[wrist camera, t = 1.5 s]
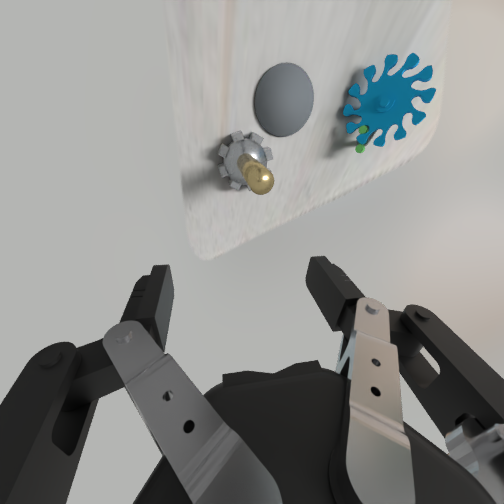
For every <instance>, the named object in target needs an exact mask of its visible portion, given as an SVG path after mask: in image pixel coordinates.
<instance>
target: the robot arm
mask: <svg viewBox="0 0 504 504" xmlns="http://www.w3.org/2000/svg"><path fill="white" fill-rule="evenodd" d="M306 285H307V288H308V289H309V291H310V293H311V295H312V296H313V298H314V300H315V301H316V303H317V305H318V307H319V308H320V310H321V312H322V314H323V315H324V317H325V319H326V320H327V322H328V324H329V326H330V327H331V329H332V331H342V332H343V336H342V339H341V344H340V350H339V355H338V361H337V366H336V370H335V372H334V371H332V370H329V369H325V368H321V366H320V364H319V362H318V360H315V361H309V362H302V363H296V364H294V365H292V366H289V367H287V368H285V369H283V370H281V371H278V372H276V373H273V374H272V373H263V372H254V371H242V372H236V373H228V374H223V382H222V383H220V384H218V385H216V386H214V387H213V388H211V389H210V390H209V391H208V392H206V393H205V394H204V395H202V393H201V392H200V391H199V390H198V389H197V387H196V386H195V385H194V384H193V382H192V381H191V380H190V379H189V377H188V376H187V375H186V374H185V372H184V371H183V370H182V369H181V367H180V366H179V365H178V364H177V362H176V361H175V360H174V359H173V357H172V356H171V355H170V354H168V353H167V354H164V353H163V352H164V351H165V345H166V339H167V334H168V328H169V322H170V316H171V310H172V305H173V299H174V287H173V281H172V276H171V270H170V266H169V265H154V266H153V268H152V271H151V274H150V275H146V276H142V277H141V278H140V279H139V280H138V281H137V282H136V284H135V286H134V289H133V292H132V294H131V296H130V298H129V301H128V303H127V306H126V308H125V310H124V313H123V316H122V318H121V320H120V323H119V324H116V325H115V326H113V327H112V328H111V329H109V330H108V332H107V333H106V334H105V336H104V338H102V339H100V340H98V341H95V342H92V343H89V344H87V345H84V346H81V347H78V348H76V347H75V345H74V344H73V343H70V342H59V343H55V344H52V345H50V346H48V347H46V348H44V349H42V350H41V351H39V352H38V353H37V354H35V355H34V356H33V357H32V358H31V359H30V360H29V362H28V363H27V364H26V366H25V367H24V369H23V370H22V372H21V374H20V375H19V377H18V378H17V380H16V382H15V383H14V385H13V386H12V388H11V389H10V391H9V392H8V394H7V395H6V397H5V398H4V400H3V402H2V403H1V405H0V504H66V502H67V498H68V495H69V492H70V489H71V486H72V482H73V479H74V476H75V473H76V470H77V467H78V463H79V460H80V457H81V454H82V451H83V448H84V444H85V441H86V438H87V435H88V431H89V428H90V425H91V422H92V419H93V416H94V412H95V409H96V406H97V403H98V400H99V398H101V397H103V396H105V395H108V394H110V393H112V392H114V391H116V390H119V389H121V388H123V387H125V389H126V391H127V392H128V394H129V396H130V398H131V400H132V401H133V403H134V405H135V407H136V409H137V410H138V412H139V414H140V416H141V418H142V419H143V421H144V423H145V425H146V427H147V429H148V431H149V432H150V434H151V436H152V438H153V440H154V441H155V443H156V445H157V447H158V449H159V451H160V452H161V454H162V458H161V460H160V461H159V463H158V464H157V466H156V468H155V469H154V471H153V472H152V474H151V475H150V477H149V479H148V480H147V482H146V483H145V485H144V487H143V488H142V490H141V491H140V493H139V494H138V496H137V497H136V499H135V501H134V502H133V504H504V379H503V378H501V376H500V375H499V374H497V373H496V372H495V371H494V370H493V369H492V368H491V367H490V366H489V365H488V364H487V363H486V362H485V361H484V360H483V359H482V358H481V357H479V356H478V355H477V354H476V353H475V352H474V351H473V350H472V349H471V348H470V347H469V346H468V345H467V344H466V343H465V342H464V341H463V340H461V339H460V338H459V337H458V336H457V335H456V334H455V333H454V332H453V331H452V330H451V329H450V328H449V327H448V326H447V325H445V324H444V323H443V322H442V321H441V320H440V319H439V318H438V317H437V316H436V315H435V314H434V313H433V312H431V311H430V310H428V309H426V308H424V307H421V306H418V305H408V306H406V308H405V309H404V311H403V312H400V311H394V310H388V309H387V308H386V307H385V306H384V305H383V304H382V303H381V302H379V301H377V300H375V299H372V298H367V297H365V296H364V295H363V294H362V293H361V291H360V290H359V289H358V288H357V286H355V284H354V283H353V282H352V281H351V280H350V279H349V277H348V276H346V274H345V273H344V272H343V270H342V269H341V268H339V267H338V266H336V265H335V264H331V263H330V261H329V260H328V259H327V258H326V257H325V256H317V257H311V258H310V262H309V266H308V270H307V274H306ZM423 346H424V347H425V349H426V350H427V351H428V352H429V353H430V355H431V356H432V357H433V358H434V359H435V360H436V361H437V363H438V365H439V367H440V374H438V373H437V372H436V371H435V370H434V368H433V367H432V366H431V365H430V364H429V363H428V361H427V360H426V359H425V357H423V355H422V354H421V353H420V350H421V349H422V347H423ZM399 372H400V374H401V375H402V377H403V378H404V380H405V381H406V382H407V384H408V385H409V387H410V388H411V390H412V391H413V393H414V394H415V395H416V397H417V398H418V400H419V402H420V403H421V404H422V406H423V407H424V409H425V410H426V412H427V413H428V415H429V416H430V418H431V419H432V420H433V422H434V423H435V425H436V426H437V428H438V429H439V431H440V432H441V434H442V435H443V436H444V438H445V443H446V447H447V449H448V451H449V453H448V454H446V453H445V452H443V451H442V450H441V449H439V448H438V447H437V446H436V445H434V444H433V443H432V442H430V441H429V440H428V439H426V438H425V437H424V436H422V435H421V434H420V433H418V432H417V431H416V430H414V429H413V428H412V427H411V426H409V425H408V424H407V423H405V422H404V421H403V415H402V402H401V389H400V378H399V377H400V376H399Z"/></svg>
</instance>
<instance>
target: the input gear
mask: <svg viewBox="0 0 504 504" xmlns="http://www.w3.org/2000/svg"><path fill="white" fill-rule="evenodd" d="M231 137H232V140H233V142H232V143H230V144H229V146H226V145H225V144H223V143H222V144H221V146H220V149H219V151H218V155H220V156H221V157H223V158H224V163H222V164H219V165H218V168H219V171H220V174H221V176H222V178H223V177H226V176H229V177H230V178H231V179H230V181H229V185H230V187H232V188H234V189H237V190H239V189H240V186H241V185H247V187H248V189H249V191H251V190H252V191H253V192H254V193H256V194H259V195H263V194H266V193H268V192H269V191H270V190H271V189H272V187H273V185H274V177H273V174H272V173H271V170H270V169H268V168H267V161H269V160H272V159H273V156H272V152H271V148H269V147H266V148H262V147H261V143H262V141H263V139H264V138H262V137H261V136H259V135H257V134H256V133H254V132H252V133H251V135H250V137H249V139H248V138H244V136H243V133H242V131H238V132H235V133H233V134H231Z"/></svg>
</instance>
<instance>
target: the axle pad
mask: <svg viewBox="0 0 504 504" xmlns="http://www.w3.org/2000/svg"><path fill="white" fill-rule="evenodd" d="M313 101H314V93H313V87H312V83H311V81H310V78H309V77H308V75H307V73H306V72H305V71H304V70H303V69H302V68H301V67H299V66H298V65H295V64H292V63H281V64H278V65H276V66H274V67H272V68H271V69H269V70H268V71H267V72H266V73H265V75H264V76H263V77H262V79H261V80H260V82H259V85H258V87H257V91H256V95H255V110H256V114H257V117H258V120H259V122H260V124H261V125H262V126H263V128H264V129H265V130H266V131H268V132H269V133H271V134H273V135H275V136H281V137H284V136H289V135H292V134H294V133H296V132H297V131H299V130H300V129H301V128H302V127H303V126H304V124H305V123H306V122H307V120H308V118H309V116H310V114H311V111H312V107H313Z"/></svg>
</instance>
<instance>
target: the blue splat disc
mask: <svg viewBox="0 0 504 504" xmlns="http://www.w3.org/2000/svg"><path fill="white" fill-rule="evenodd" d="M397 61H398V56H397V55H394V54H391V55H387V57H386V58H385V68H384V71H383V74H382V75H381V77H380V79H379V80H378V81H377V82H372V79H373V77H374V75H375V73H376V68H375V66H374V65H372V66H369V67H368V68H366V69H365V70H364V76H365V78H366V79H367V81H368V89H367V92H366V93H365V94H364V95H360V87H359V85H358V84H357V83H355V84H354V85H353V86H352V87H351V88H350V90H349V91H348V92H349V94H350V96H352V97H356V98H358V99H359V101H360V103H361V106H360V108H359V109H358V110H354V109H353V107H352V106H351V105H350V104H347V105H346V106H345V108H344V111H343V115H345V116H350V115H358V116H360V117H362V120H361V122H360V123H359V124H355V123H353V122H349V123H348V124H347V125H346V129H347V133H349V134H351V133H353V132H354V131H355V130H356V129H358V128H359V133H360V135H358V136H357V138H356V139H357V146H356V149H355V150H356V152H358V153H362V152H364V150H365V146H366V145H368V143H369V142H370V140H371V139H372V137H373V136H374V134H375V133H376V132H377V130H378V129H382V130H383V133H382V135H381V136H379V137H377V138H376V139H375V140H374V145H375V146H380V147H383V146H384V144H385V136H386V133H387V131H388V130H389V128H390V127H391V126H392V125H394V124H396V125H398V130H397V131H396V132H395V134H394V139H395V140H400V139H402V138H405V137H406V131H405V130H404V128H403V126H402V120H403V116H404V115H405V114H406V113H412V115H413V118H412V123H413V124H414V125H417V124H419V123H420V122H421V121H422V120H423V119H424V118H425V117H426V114H425V113H424V112H421V111H417V110H416V109H415V108H414V107H413V105H412V103H411V101H412V99H413V98H414V97H417V96H419V97H421V99H422V101H423V102H424V103H430V101H431V100H432V98H433V96H434V94H435V91H436V89H435V88H430V89H427V90H422V91H420V90H415V89H413V88H412V87H411V85H412V83H413V82H414V81H417V80H419V81H422V82H427V81H429V80H430V79H431V78H432V74H433V70H432V65H430V66H427V67H425V68H424V69H423V70H422V71H421V72H419V73H418V74H416V75H414V76H412V77H408V78H403V77H402V74H403V73H404V72H405V71H406V70H409V69H413V68H415V67H416V66H417V65H418V63H419V57H418V56H417V55H416V54H414V53H412V54H410V55H409V56H408V58H407V60H406V62H405V64H404V65H403V66H402V68H401V69H400V70H399V71H398V72H396V73H395V74H394V75H392V76H389V75H387V73H388V71H389V70H390V69H391V68H393V67H394V66H395V65H396V63H397Z"/></svg>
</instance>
